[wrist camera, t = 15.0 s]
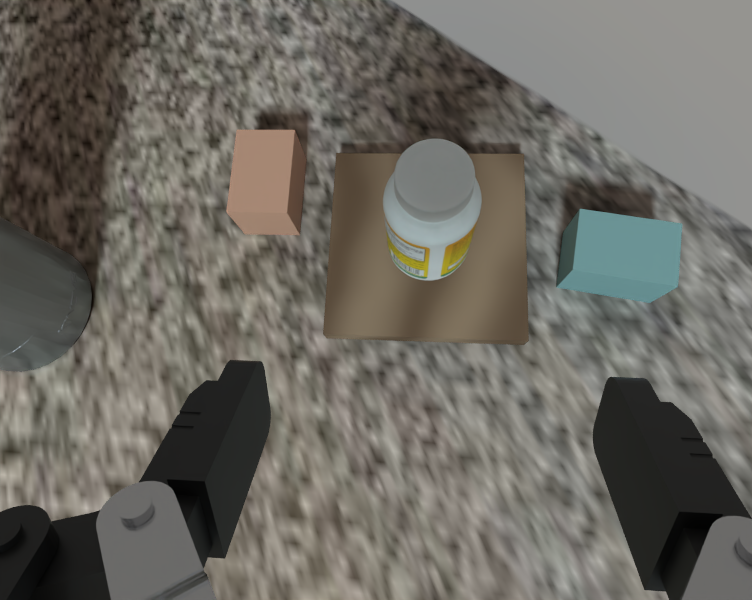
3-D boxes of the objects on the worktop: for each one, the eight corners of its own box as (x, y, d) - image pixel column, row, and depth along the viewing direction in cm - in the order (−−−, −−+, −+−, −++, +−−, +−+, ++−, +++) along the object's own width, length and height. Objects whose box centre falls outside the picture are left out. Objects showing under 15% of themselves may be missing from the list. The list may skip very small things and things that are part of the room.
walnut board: (327, 338, 35) (323, 334, 34) (339, 163, 39) (336, 153, 37) (523, 344, 34) (528, 340, 33) (519, 164, 38) (523, 153, 36)
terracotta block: (300, 235, 38) (286, 212, 34) (245, 234, 38) (226, 212, 34) (306, 160, 39) (294, 129, 35) (254, 159, 39) (236, 129, 36)
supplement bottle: (392, 286, 34) (383, 230, 25) (384, 211, 36) (373, 132, 26) (474, 277, 34) (496, 218, 25) (464, 202, 35) (480, 119, 26)
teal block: (555, 287, 35) (572, 269, 31) (562, 232, 36) (580, 208, 32) (648, 303, 35) (677, 286, 31) (653, 246, 35) (682, 223, 32)
